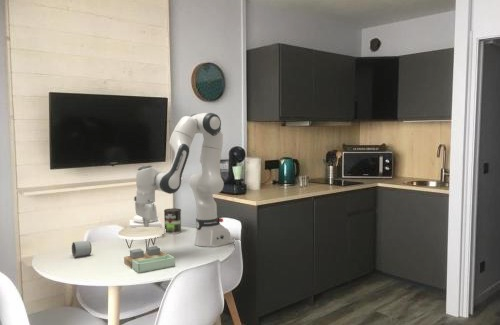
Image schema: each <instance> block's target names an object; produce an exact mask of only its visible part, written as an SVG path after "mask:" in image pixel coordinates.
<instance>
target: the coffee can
mask: <svg viewBox="0 0 500 325" xmlns="http://www.w3.org/2000/svg"><path fill="white" fill-rule="evenodd" d="M163 212H164V213H163V215H164V230H165V229H166V233H165V234H167V235H177V234H180V233H182V209H181V208H174V207H173V208H165V209H164V210H163Z"/></svg>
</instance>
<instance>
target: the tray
mask: <svg viewBox="0 0 500 325" xmlns="http://www.w3.org/2000/svg"><path fill="white" fill-rule="evenodd" d="M165 254H166V256H161V257H156V258H150V259H145V260H139V261H135V260H132V268H131V269H133V271H135V272H136V273H137V274H142V273H147V272H152V271H157V270H162V269H168V268H169V269H170V268H174V267H176V258H175V256H173V255H171V254H169V253H165Z"/></svg>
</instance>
